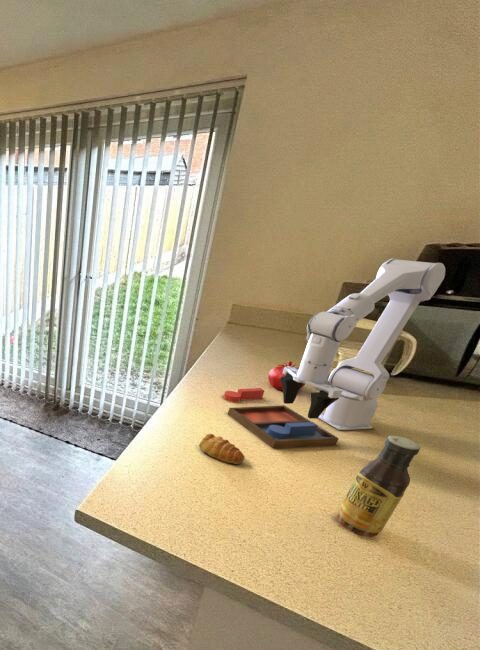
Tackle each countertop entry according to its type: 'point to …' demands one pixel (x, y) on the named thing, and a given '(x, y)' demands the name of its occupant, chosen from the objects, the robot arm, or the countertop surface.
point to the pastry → (221, 449)
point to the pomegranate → (278, 375)
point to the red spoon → (243, 394)
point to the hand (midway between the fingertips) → (299, 410)
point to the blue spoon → (292, 430)
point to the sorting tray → (279, 415)
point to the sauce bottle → (378, 488)
